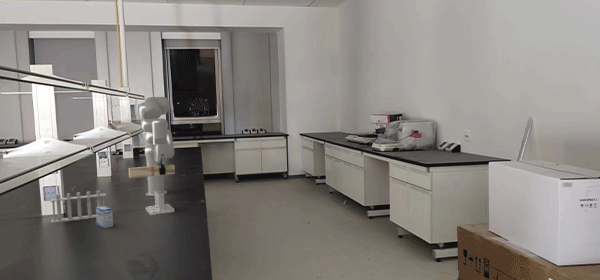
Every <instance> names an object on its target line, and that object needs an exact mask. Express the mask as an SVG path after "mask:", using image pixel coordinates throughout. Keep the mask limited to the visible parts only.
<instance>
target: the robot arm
mask: <svg viewBox="0 0 600 280" xmlns="http://www.w3.org/2000/svg"><path fill="white" fill-rule="evenodd" d="M169 109H170V100H169V99H168V98H167V96H166V97H165V96H150V97H147V98H146V99H145V101H144V102H141V103H139V105H138V110H137V111H138V115H139V118H140V126H141V129H142V131H143V132H144V136H145V138H144V139H145V141H146V143H147V145H146V146H145V147H144V155H145V161H146V167H148V166H158V165H160V168H159V174H160V175H159V176H149V177H147V191H148V192H146V193H145V196H147V197H155V194H154V190H160V191H161V192H162V193H164V196H165V195H166V194H168V191H167V190H165V180H164V177H165V176H166V175H165V174H166V172H165V165H166V162H167V159H172V158H173V157H174V155H175V146H174V140H173V135H172V134H173V133H172V131H171V130H170V129H169V128H168V127H169V122H168V120H166V118H160V117H161V116H163V115H164V116H165V115H166V114H167V113H168V111H169Z"/></svg>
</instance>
